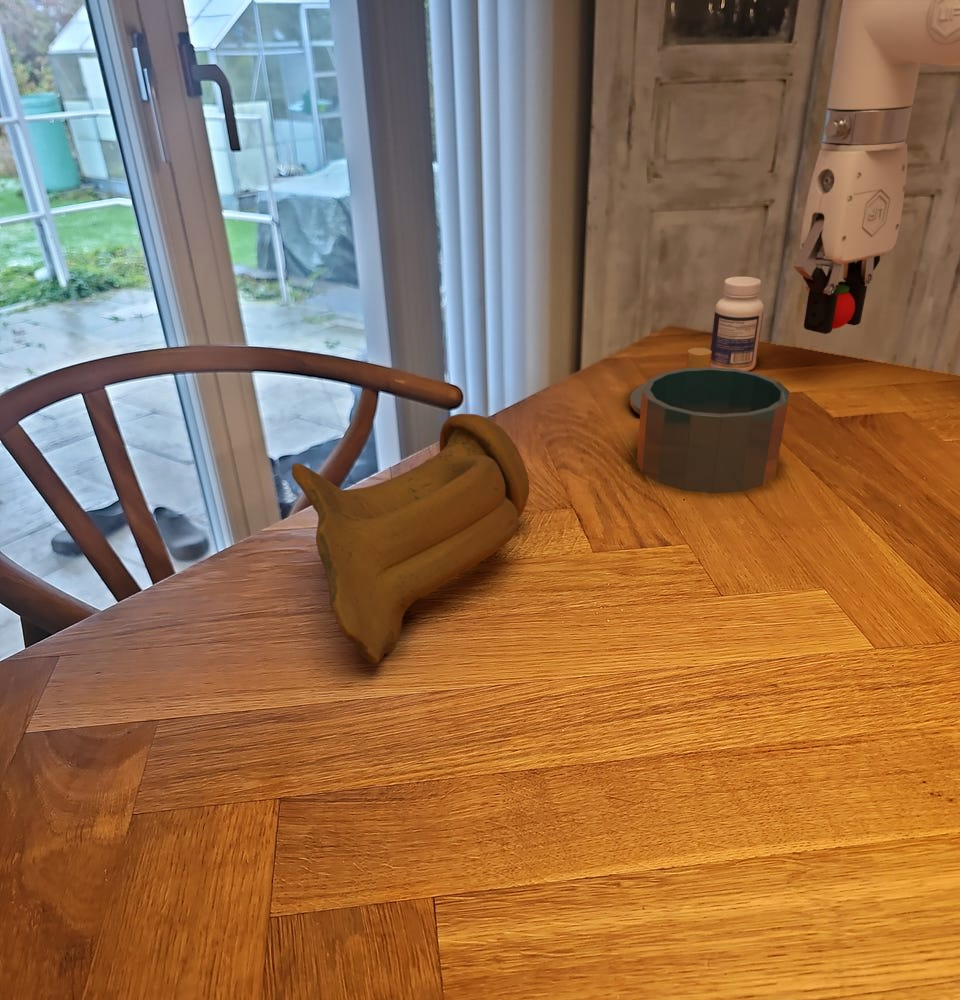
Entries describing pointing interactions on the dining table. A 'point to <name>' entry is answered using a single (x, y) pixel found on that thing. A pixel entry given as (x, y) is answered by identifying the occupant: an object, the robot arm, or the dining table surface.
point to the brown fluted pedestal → (415, 528)
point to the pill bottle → (737, 325)
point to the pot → (711, 429)
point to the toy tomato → (843, 306)
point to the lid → (694, 360)
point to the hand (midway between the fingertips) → (831, 325)
